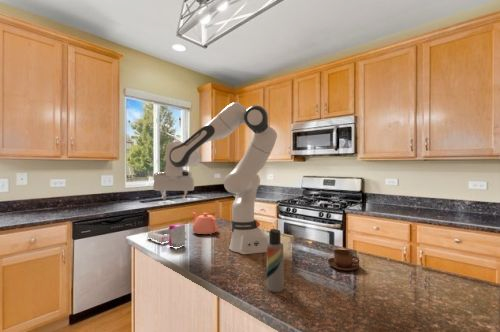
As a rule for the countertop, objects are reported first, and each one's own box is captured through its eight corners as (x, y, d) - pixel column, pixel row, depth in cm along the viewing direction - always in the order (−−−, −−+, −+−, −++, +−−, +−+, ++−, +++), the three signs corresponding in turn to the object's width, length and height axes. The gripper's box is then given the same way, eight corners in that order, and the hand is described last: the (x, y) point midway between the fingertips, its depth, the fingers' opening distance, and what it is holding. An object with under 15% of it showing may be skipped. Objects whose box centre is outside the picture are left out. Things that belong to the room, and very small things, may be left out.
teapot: (183, 232, 161) (182, 212, 161) (201, 227, 173) (201, 209, 173) (207, 238, 148) (207, 216, 148) (225, 232, 160) (225, 212, 160)
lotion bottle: (273, 282, 92) (272, 226, 92) (286, 287, 88) (286, 229, 88) (263, 288, 87) (263, 230, 87) (277, 294, 84) (277, 232, 84)
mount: (171, 234, 158) (171, 226, 158) (185, 238, 148) (185, 230, 148) (147, 239, 146) (147, 231, 146) (161, 244, 137) (161, 235, 137)
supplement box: (185, 246, 134) (185, 224, 134) (176, 249, 129) (176, 226, 129) (177, 244, 137) (177, 223, 137) (168, 247, 132) (168, 225, 132)
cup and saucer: (357, 263, 110) (356, 248, 110) (361, 274, 98) (361, 258, 98) (327, 260, 113) (327, 246, 113) (328, 271, 102) (328, 255, 102)
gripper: (151, 172, 128) (151, 200, 129) (193, 173, 131) (193, 200, 131) (154, 172, 135) (154, 198, 135) (194, 172, 137) (194, 198, 137)
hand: (173, 199), depth 133 cm, fingers open, 8 cm apart
